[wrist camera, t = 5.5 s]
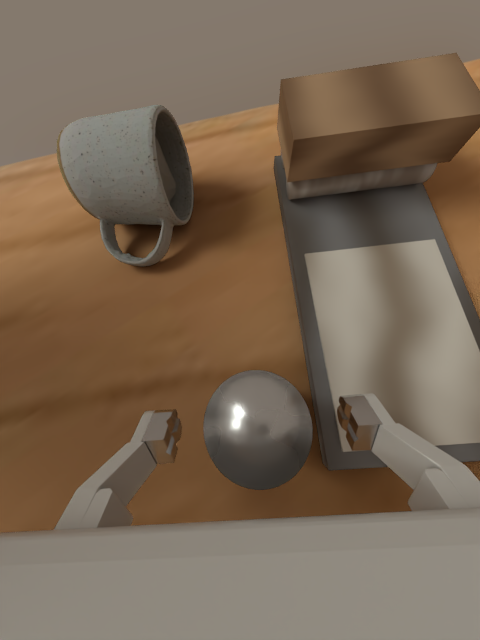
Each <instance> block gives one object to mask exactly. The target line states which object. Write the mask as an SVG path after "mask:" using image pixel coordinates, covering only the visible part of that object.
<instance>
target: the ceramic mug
mask: <svg viewBox="0 0 480 640" xmlns="http://www.w3.org/2000/svg"><path fill="white" fill-rule="evenodd" d="M57 159H58V164H59V167H60V170H61V173H62V176H63V179H64V181H65V183H66V185H67V187H68V189H69V190H70V192H71V193H72V195H73V196H74V198H75V199H76V200H77V201H78V203H79V204H80V205H81V206H82V207H83V208H84V209H85V210H86V211H87V212H88V213H89V214H91V215H92V216H94V217H95V218H97V219H100V232H101V236H102V240H103V242H104V245H105V247H106V249H107V250H108V251H109V252H110V253H111V255H113V256H114V257H115V258H116V259H117V260H119V261H121V262H123V263H127V264H130V265H135V266H150V265H153V264H155V263H157V262H158V261H160V260H161V259H162V258H163V257H164V256H165V254H166V253H167V251H168V249H169V246H170V242H171V237H172V231H173V226H174V225H184V224H186V223H187V222H188V221H189V219H190V217H191V214H192V210H193V200H194V197H193V195H194V192H193V179H192V171H191V166H190V162H189V157H188V153H187V150H186V146H185V143H184V140H183V137H182V135H181V132H180V129H179V127H178V125H177V123H176V121H175V119H174V117H173V116H172V114H171V113H170V112H169V111H168V110H167V109H166V108H165V107H164V106H161V105H153V106H148V107H144V108H139V109H134V110H128V111H122V112H117V113H112V114H107V115H101V116H93V117H87V118H83V119H79V120H77V121H75V122H73V123H71V124H69V125H67V126H66V127H65V128H64V129H63V130H62V131H61V132H60V135H59V137H58V140H57ZM115 224H150V225H162V228H161V232H160V236H159V239H158V242H157V245H156V247H155V248H154V249H153V251H152V252H151V253H149V254H148V256H147V257H145V258H138V257H134V256H132V255H131V254H129V253H128V254H123V253H122V251H121V250H120V248H119V246H118V243H117V241H116V236H115V228H114V226H115Z"/></svg>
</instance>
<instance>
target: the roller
mask: <svg viewBox="0 0 480 640" xmlns="http://www.w3.org/2000/svg"><path fill="white" fill-rule="evenodd" d="M312 433H313V429H312V420H311V416H310V412H309V409H308V407H307V405H306V403H305V401H304V399H303V397H302V396H301V394H300V393H299V392H298V390H297V389H296V388H295V387H294V386H293V385H292V384H291V383H290V382H288V381H287V380H286V379H284V378H282V377H281V376H279V375H277V374H274V373H272V372H268V371H262V370H250V371H244V372H241V373H238V374H236V375H234V376H232V377H230V378H229V379H227V380H226V381H225V382H223V383H222V384H221V385H220V386H219V387H218V388H217V390H216V391H215V392H214V394H213V395H212V397H211V399H210V401H209V403H208V406H207V408H206V412H205V417H204V439H205V444H206V447H207V450H208V453H209V455H210V457H211V459H212V461H213V462H214V464H215V466H216V467H217V468H218V469H219V471H220V472H221V473H222V474H223V475H224V476H225V477H227V478H228V479H229V480H231V481H232V482H234V483H236V484H238V485H240V486H242V487H245V488H249V489H255V490H265V489H271V488H275V487H278V486H280V485H282V484H284V483H286V482H287V481H289V480H290V479H292V478H293V477H294V476H295V475H296V474H297V473H298V472H299V470H300V469H301V468H302V466H303V465H304V463H305V461H306V459H307V457H308V455H309V452H310V448H311V444H312Z"/></svg>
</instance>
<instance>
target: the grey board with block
mask: <svg viewBox="0 0 480 640" xmlns="http://www.w3.org/2000/svg"><path fill="white" fill-rule="evenodd" d="M479 127H480V91H479V89H478V87H477V86H476V84H475V82H474V81H473V79H472V78H471V76H470V74H469V73H468V71H467V69H466V68H465V66H464V65H463V63H462V61H461V60H460V58H459V57H458V55H457V53H452V54H446V55H440V56H432V57H426V58H419V59H413V60H406V61H400V62H393V63H387V64H380V65H373V66H367V67H360V68H354V69H347V70H341V71H334V72H328V73H321V74H314V75H308V76H302V77H295V78H289V79H282V80H281V86H280V97H279V109H278V122H277V130H278V136H279V141H280V146H281V156H275V159H274V173H275V179H276V185H277V191H278V197H279V203H280V209H281V215H282V221H283V227H284V233H285V239H286V245H287V251H288V257H289V263H290V269H291V275H292V281H293V287H294V293H295V299H296V305H297V311H298V317H299V323H300V329H301V335H302V341H303V347H304V353H305V359H306V365H307V371H308V377H309V383H310V389H311V395H312V401H313V407H314V413H315V419H316V424H317V430H318V436H319V442H320V448H321V454H322V460H323V464H324V465H325V466H326V468H327V469H328V470H345V469H360V468H376V467H388V466H387V465H386V464H385V463H384V462H383V461H382V460H381V459H379V458H378V457H377V456H376V455H375V454H374V453H373V452H372V450H361V451H352V449H351V447H350V445H349V443H348V441H347V439H346V431H345V430H344V429H343V428H341V425H340V423H339V420H338V416H337V408H338V407H339V406H340V403H339V397H340V396H344V395H355V394H369V393H373V394H375V395H376V397H377V398H378V400H379V401H380V402H381V404H382V405H383V407H384V408H385V409H386V411H387V412H388V413H389V415H390V416H391V418H392V419H393V420H394V422H395V423H399V424H401V425H403V426H404V427H406V428H407V429H409V430H411V431H412V432H414V433H415V434H417V435H418V436H420V437H422V438H423V439H425V440H426V441H428V442H429V443H431V444H433V445H434V446H436V447H437V448H439V449H441V450H442V451H444V452H445V453H447V454H448V455H450V456H452V457H453V458H455V459H456V460H458V461H459V462H470V461H480V319H479V317H478V315H477V312H476V310H475V307H474V305H473V303H472V300H471V298H470V295H469V293H468V291H467V288H466V286H465V283H464V281H463V279H462V276H461V274H460V271H459V269H458V267H457V264H456V262H455V259H454V257H453V255H452V252H451V250H450V248H449V245H448V243H447V240H446V238H445V236H444V233H443V231H442V228H441V226H440V224H439V221H438V219H437V216H436V214H435V212H434V209H433V207H432V204H431V202H430V200H429V197H428V195H427V192H426V190H425V188H424V185H423V182H425V181H427V180H428V179H429V178H430V177H431V175H432V174H433V172H434V170H435V168H436V166H437V163H441V162H449V161H451V159H452V158H453V157H454V156H455V155H456V154H457V153H458V151H459V150H460V149H461V148H462V147H463V146H464V145H465V143H466V142H467V141H468V140H469V139H470V138H471V137H472V135H473V134H474V133H475V132H476V131H477V130H478V129H479Z"/></svg>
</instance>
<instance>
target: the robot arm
mask: <svg viewBox="0 0 480 640" xmlns="http://www.w3.org/2000/svg"><path fill="white" fill-rule="evenodd" d="M339 403H340V406H339V407H338V408H337V416H338V420H339V423H340V425H341V428H343V429H344V430H345V431H346V439H347V441H348V443H349V445H350V447H351V449H352V451H361V450H372V452H373V453H374V454H375V455H376V456H377V457H378V458H379V459H381V460H382V461H383V462H384V463H385V464H386V465H387V466H388V467H389V468H390V469H391V470H392V471H394V472H395V473H396V474H397V475H398V476H399V477H400V478H401V479H402V480H403V481H404V482H406V483H407V484H408V485H409V486H410V487H411V488H412V489H413V490H414V491H413V493H412V494H411V496H410V498H409V500H408V505H409V507H410V508H411V510H412V511H403V512H384V513H365V514H345V515H326V516H307V517H288V518H268V519H249V520H230V521H211V522H192V523H173V524H154V525H135V526H131V523H132V520H133V516H132V514H131V513H130V511H129V510H128V509H127V508H126V506H127V504H128V503H129V502H130V500H131V499H132V498H133V496H134V495H135V494H136V492H137V491H138V490H139V488H140V487H141V486H142V485H143V483H144V482H145V481H146V479H147V478H148V477H149V475H150V474H151V473H152V471H153V470H154V469H155V467H156V466H157V465H156V464H166V463H174V461H175V457H176V454H177V450H178V448H177V445H176V443H177V442H178V441H179V440H180V438H181V432H182V425H181V421H180V419H178V418H177V415H178V413H177V411H176V409H173V410H154V411H145V412H144V414H143V415H142V417H141V420H140V422H139V424H138V426H137V428H136V430H135V433H134V435H133V437H132V439H131V441H130V443H126V444H125V445H124V446H123V447H122V448H121V449H120V450H119V451H118V452H117V453H116V454H114V455H113V456H112V457H111V458H110V459H109V460H108V461H107V462H106V463H105V464H104V465H103V466H101V467H100V468H99V469H98V470H97V471H96V472H95V473H94V474H93V475H92V476H91V477H90V478H88V479H87V480H86V481H85V482H84V483H83V484H82V485H81V486H80V487H79V488H78V489H77V490H76V492H75V493H74V495H73V497H72V499H71V500H70V502H69V504H68V506H67V507H66V509H65V511H64V513H63V514H62V516H61V518H60V520H59V521H58V523H57V525H56V527H55V528H54V530H40V531H21V532H2V533H0V640H480V481H479V480H478V479H477V478H476V477H475V475H474V474H473V473H472V472H471V471H470V470H469V468H468V467H467V466H466V465H464V464H463V463H461V462H459V461H458V460H456V459H455V458H453V457H452V456H450V455H448V454H447V453H445V452H444V451H442V450H441V449H439V448H437V447H436V446H434V445H433V444H431V443H429V442H428V441H426V440H425V439H423V438H422V437H420V436H418V435H417V434H415V433H414V432H412V431H411V430H409V429H407V428H406V427H404V426H403V425H401V424H399V423H395V422H394V420H393V419H392V418H391V416H390V415H389V413H388V412H387V411H386V409H385V408H384V407H383V405H382V404H381V402H380V401H379V400H378V398H377V397H376V395H375V394H373V393H369V394H355V395H344V396H340V397H339Z"/></svg>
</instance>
